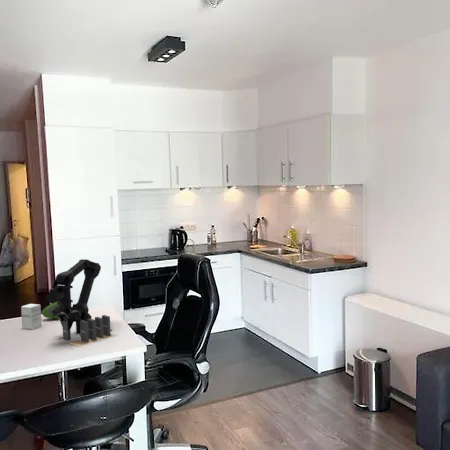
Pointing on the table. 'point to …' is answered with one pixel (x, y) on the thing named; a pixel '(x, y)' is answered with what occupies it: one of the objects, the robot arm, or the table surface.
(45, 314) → the fruit
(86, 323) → the domino
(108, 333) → the domino
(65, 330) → the domino
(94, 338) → the domino
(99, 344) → the table surface
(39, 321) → the supplement box
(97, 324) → the domino
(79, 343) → the board
